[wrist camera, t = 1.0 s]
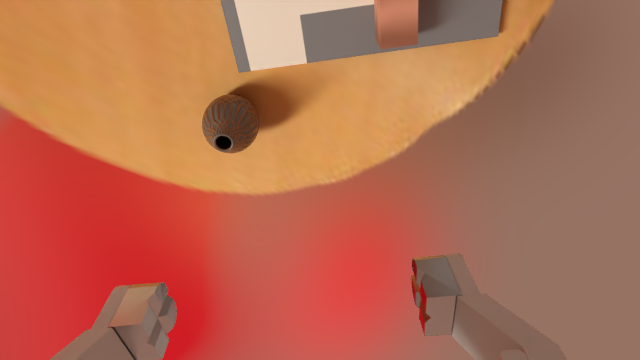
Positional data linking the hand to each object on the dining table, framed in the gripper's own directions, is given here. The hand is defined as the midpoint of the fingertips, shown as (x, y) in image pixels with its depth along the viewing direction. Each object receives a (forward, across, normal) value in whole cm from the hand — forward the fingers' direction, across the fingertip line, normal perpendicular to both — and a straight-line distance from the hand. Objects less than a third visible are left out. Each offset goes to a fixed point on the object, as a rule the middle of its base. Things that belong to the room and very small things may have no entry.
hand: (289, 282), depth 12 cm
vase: (+39, +11, +9) cm, 41 cm away
